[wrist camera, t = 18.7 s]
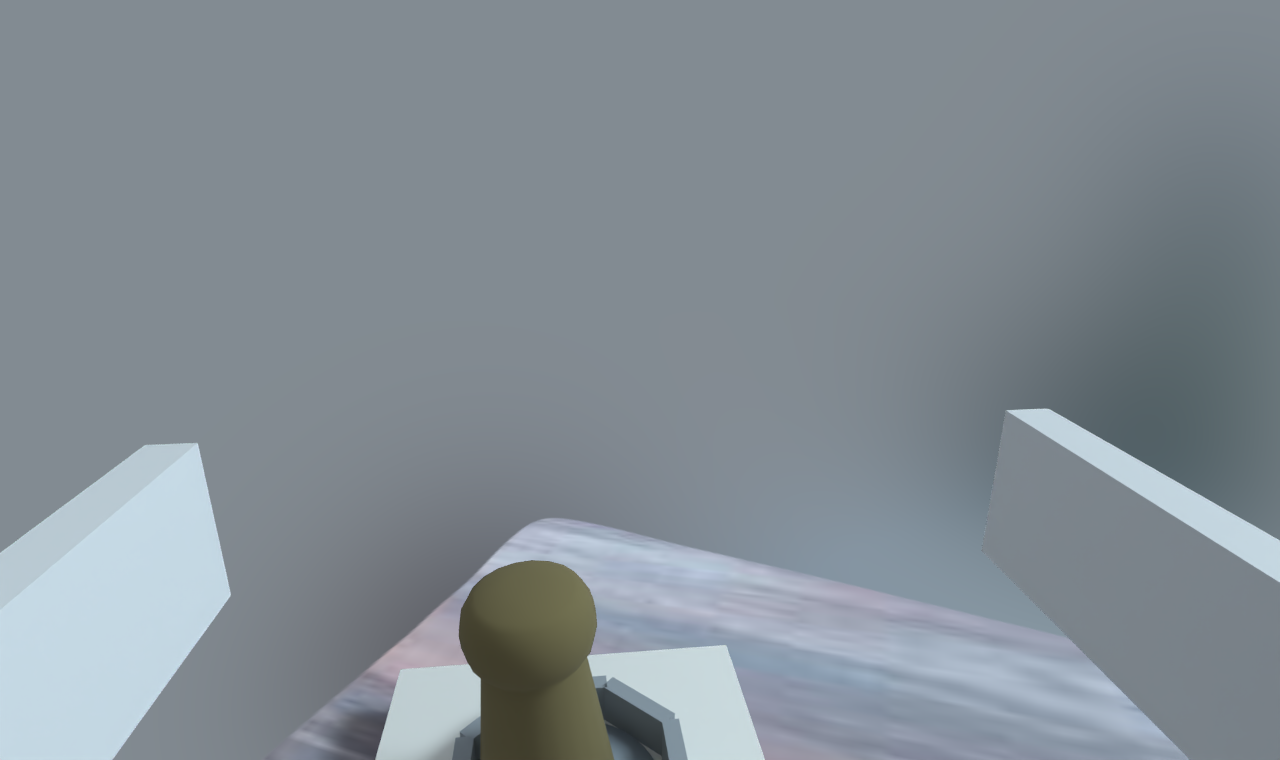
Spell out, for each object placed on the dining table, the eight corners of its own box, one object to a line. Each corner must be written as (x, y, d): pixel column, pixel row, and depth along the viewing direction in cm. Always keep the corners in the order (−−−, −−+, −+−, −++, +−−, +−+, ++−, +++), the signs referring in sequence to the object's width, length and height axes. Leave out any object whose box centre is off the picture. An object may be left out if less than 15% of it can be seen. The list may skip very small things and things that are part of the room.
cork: (467, 870, 28) (422, 646, 24) (492, 741, 34) (459, 543, 30) (621, 860, 28) (602, 636, 24) (621, 734, 34) (605, 534, 30)
